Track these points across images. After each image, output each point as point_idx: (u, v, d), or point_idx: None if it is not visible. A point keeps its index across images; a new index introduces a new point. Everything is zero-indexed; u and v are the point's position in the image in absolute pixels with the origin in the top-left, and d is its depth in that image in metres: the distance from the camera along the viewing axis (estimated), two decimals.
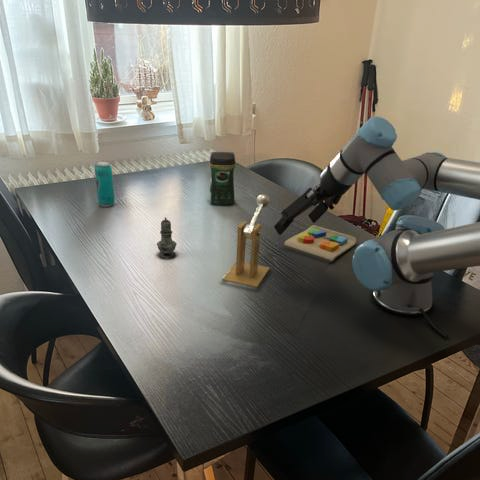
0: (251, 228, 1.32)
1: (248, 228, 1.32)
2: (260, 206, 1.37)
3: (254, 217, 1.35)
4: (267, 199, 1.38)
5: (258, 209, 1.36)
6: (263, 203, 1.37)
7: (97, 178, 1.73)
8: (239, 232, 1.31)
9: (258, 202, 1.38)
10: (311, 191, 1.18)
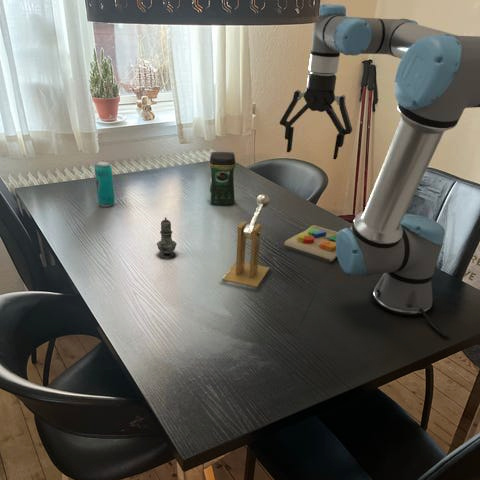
0: (251, 228, 1.32)
1: (248, 228, 1.32)
2: (260, 206, 1.37)
3: (254, 217, 1.35)
4: (267, 199, 1.38)
5: (258, 209, 1.36)
6: (263, 203, 1.37)
7: (97, 178, 1.73)
8: (239, 232, 1.31)
9: (258, 202, 1.38)
10: None
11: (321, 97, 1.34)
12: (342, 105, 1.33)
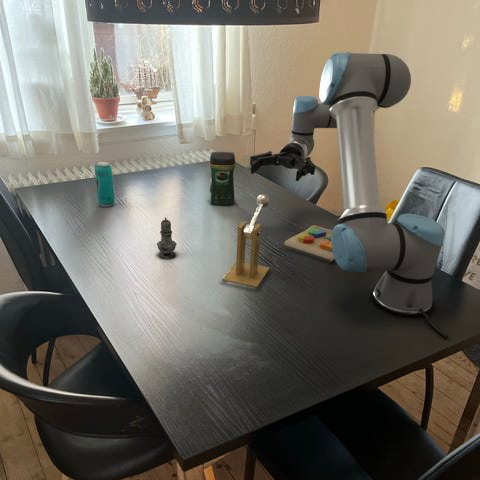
0: (251, 228, 1.32)
1: (248, 228, 1.32)
2: (260, 206, 1.37)
3: (254, 217, 1.35)
4: (267, 199, 1.38)
5: (258, 209, 1.36)
6: (263, 203, 1.37)
7: (97, 178, 1.73)
8: (239, 232, 1.31)
9: (258, 202, 1.38)
10: None
11: (291, 155, 1.55)
12: (308, 159, 1.52)
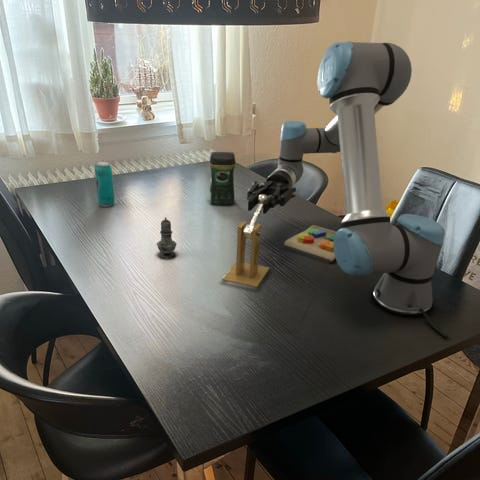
0: (251, 228, 1.32)
1: (248, 228, 1.32)
2: (260, 206, 1.37)
3: (254, 217, 1.35)
4: (267, 199, 1.38)
5: (258, 209, 1.36)
6: (263, 203, 1.37)
7: (97, 178, 1.73)
8: (239, 232, 1.31)
9: (258, 202, 1.38)
10: None
11: None
12: (291, 189, 1.44)
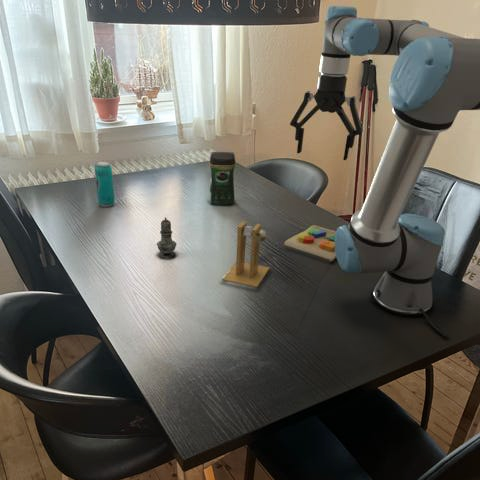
0: None
1: None
2: None
3: None
4: (265, 232, 1.44)
5: None
6: (261, 233, 1.43)
7: (97, 178, 1.73)
8: (239, 232, 1.31)
9: None
10: (307, 92, 1.37)
11: (332, 98, 1.34)
12: (352, 106, 1.33)
